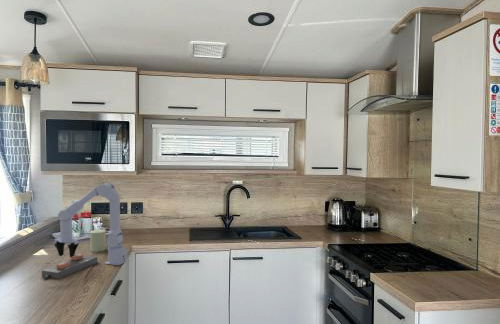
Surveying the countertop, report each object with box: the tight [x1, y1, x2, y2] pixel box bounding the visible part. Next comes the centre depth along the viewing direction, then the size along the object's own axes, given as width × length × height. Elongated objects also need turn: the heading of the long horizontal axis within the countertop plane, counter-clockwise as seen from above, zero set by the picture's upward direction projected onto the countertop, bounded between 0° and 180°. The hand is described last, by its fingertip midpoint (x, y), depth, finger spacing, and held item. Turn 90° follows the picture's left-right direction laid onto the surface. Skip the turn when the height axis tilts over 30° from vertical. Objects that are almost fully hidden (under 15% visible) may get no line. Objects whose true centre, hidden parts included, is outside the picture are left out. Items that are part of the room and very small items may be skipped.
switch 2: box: [70, 253, 84, 260], centre depth 185 cm, size 3×5×2 cm, turn 162°
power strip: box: [41, 255, 98, 280], centre depth 177 cm, size 10×29×3 cm, turn 162°
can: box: [89, 229, 107, 253], centre depth 215 cm, size 9×9×12 cm
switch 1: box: [56, 261, 70, 269], centre depth 172 cm, size 3×5×2 cm, turn 162°
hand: (66, 256), depth 188 cm, fingers open, 7 cm apart
